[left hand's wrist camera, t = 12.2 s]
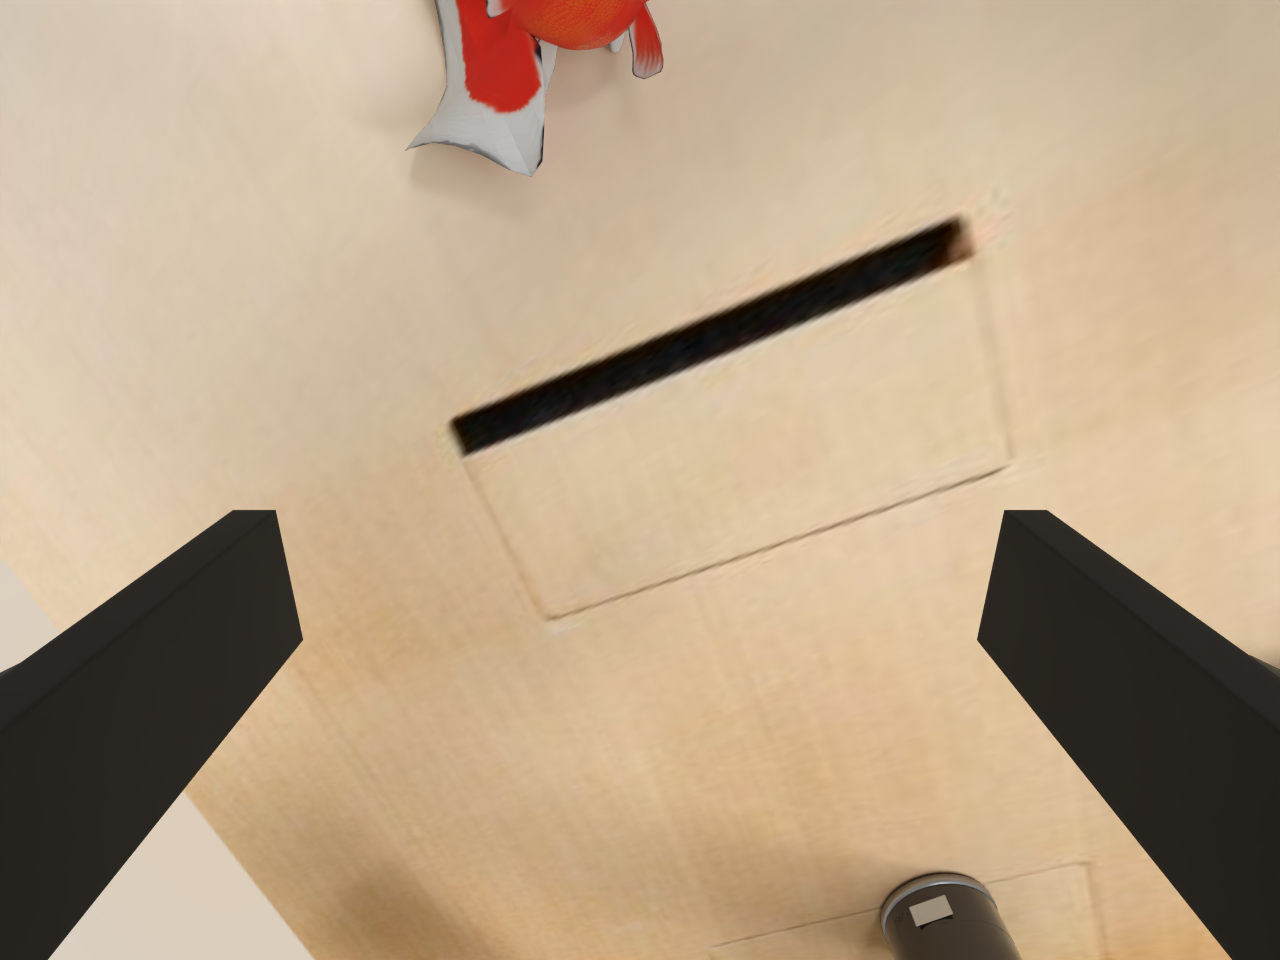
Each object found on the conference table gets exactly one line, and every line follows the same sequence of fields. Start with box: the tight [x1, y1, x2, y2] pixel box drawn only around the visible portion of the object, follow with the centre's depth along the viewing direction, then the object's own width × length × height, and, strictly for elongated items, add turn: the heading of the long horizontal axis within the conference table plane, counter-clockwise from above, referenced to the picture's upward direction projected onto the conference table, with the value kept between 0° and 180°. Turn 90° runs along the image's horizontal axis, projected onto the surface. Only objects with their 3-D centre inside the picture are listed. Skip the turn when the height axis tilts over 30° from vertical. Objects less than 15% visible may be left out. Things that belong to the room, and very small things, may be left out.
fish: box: [405, 0, 663, 177], centre depth 31 cm, size 11×16×10 cm
